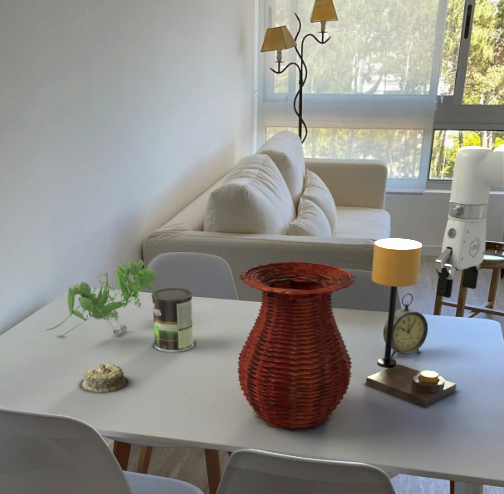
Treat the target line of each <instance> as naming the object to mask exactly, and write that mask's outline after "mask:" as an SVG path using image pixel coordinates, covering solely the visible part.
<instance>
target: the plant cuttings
mask: <svg viewBox="0 0 504 494" xmlns="http://www.w3.org/2000/svg"><path fill="white" fill-rule="evenodd" d="M127 264H128V266H127V265H125V264H123V263H120V265H117V267H116V269H115V280H116V284H117V286H118V287H119V289H120V290H119V291H118V292H117V293H116V291H115V288H113V286H112V285H109V279H108V277H109V275H108V272H107V271H105V273H104V272H99V274H98V275H97V279H98V282H99V283H101V285H100V289H99V291H98V294H96V291H97V286H96V287H93V289H92V288H91V286H90V285H89V284H88V283H87V282H85V281H81V282H80V284H75V285H73V284H71V286H72V288H71V287H70V286H68V292H67V307H68V312H69V315H68V316H67V317H66V318H65V319H64V320H63V321H61V322H60V323H59V324H57V325H55V326H53V327H51V328H47V329H45V331H50V330H55V329H57V328H58V327H60V326H61V325H63V324H64V323H66V321H67V320H68V319H69V318H70V317H71V316H73V315H74V316H76V317H77V318H79V319H82V320H83V322H86V321H88V320H89V319H90V318H95V319H99V320H100V319H103V320H106V322H107V324H108V325H109V327H110V328H111V329H112V333H113V335H116V336H118V337H120V336H123V335H124V334H125V332H126V331H127V329H128V325H126V324H125V323H121V322H120V321H119V312H118V311H117V310H118V309H120V308H127V306H128V304H129V303H131V304H132V301H133V305H135V306H137V308H138V309H140V308H141V306H142V302H140V300H141V299H140V298H139V296H140V294H139V292H141V291H142V290H144V289H146V288H147V289H148V290H149V291H153V292H155V291H156V289H155V286H154V285H153V283H154V282H155V281H156V279H157V277H158V274H157V272H156V271H155V270H153V269H151V268H149V267H143V266H144V265H145V263H144V261H143V259H139V260H138V264H137V263H136V262H135V261H134V260H129V261H128V262H127ZM142 267H143V268H142ZM101 275H103V276H105V281H101V279H100V278H99V277H101ZM130 275H131V277H130ZM104 284H105V286H104V289H103V285H104ZM111 290H112V291H113V292H114V296H112V295H111V294H110V291H111ZM119 294H120V300H119V301H116V297H117V295H119ZM76 295H79V297H78V302H79V306H77V308H75V309H74V307H75V300H76V299H75V296H76ZM80 307H81V308H82V312H81V311H80V310H78V309H79V308H80ZM86 311H88V314H87V315H86V317H84V315H83V314H84V312H86ZM111 319H114V321H115V322H116V323H117V325H118V326H116V327H114V326H113V325H112V322H110V320H111ZM83 322H81V323H80V324H78V325H76V326H74V327H72V328H71V329H69V330H68V331H66V332H65V333H63V334H62V335H61V337H63V336H65V335H67V334H68V333H70V332H71V331H73V330H74V329H76V328H77V327H79V326H80V325H82V324H83ZM118 327H119V328H118ZM120 331H122V332H123V333H122V334H120Z"/></svg>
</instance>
